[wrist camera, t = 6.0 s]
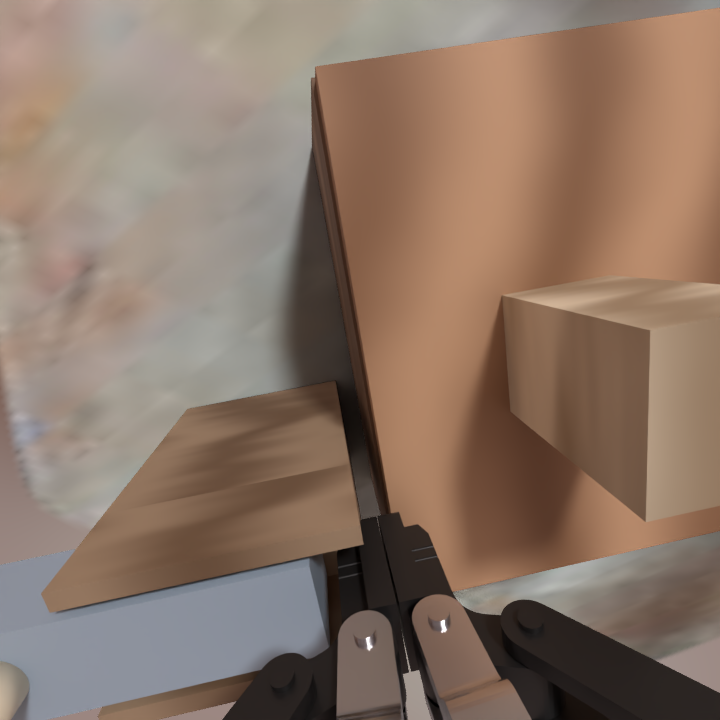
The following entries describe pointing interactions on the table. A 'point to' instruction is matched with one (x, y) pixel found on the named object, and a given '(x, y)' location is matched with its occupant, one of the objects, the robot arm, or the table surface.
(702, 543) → the table surface
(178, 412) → the table surface
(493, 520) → the lid
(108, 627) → the drawer
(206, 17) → the table surface
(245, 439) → the toolbox
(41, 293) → the table surface
